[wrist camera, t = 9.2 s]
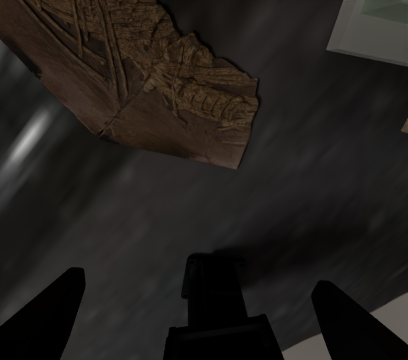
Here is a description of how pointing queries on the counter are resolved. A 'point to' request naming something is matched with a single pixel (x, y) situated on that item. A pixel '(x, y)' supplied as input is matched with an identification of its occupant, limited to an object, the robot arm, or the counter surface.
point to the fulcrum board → (372, 30)
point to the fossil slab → (134, 76)
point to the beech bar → (405, 127)
